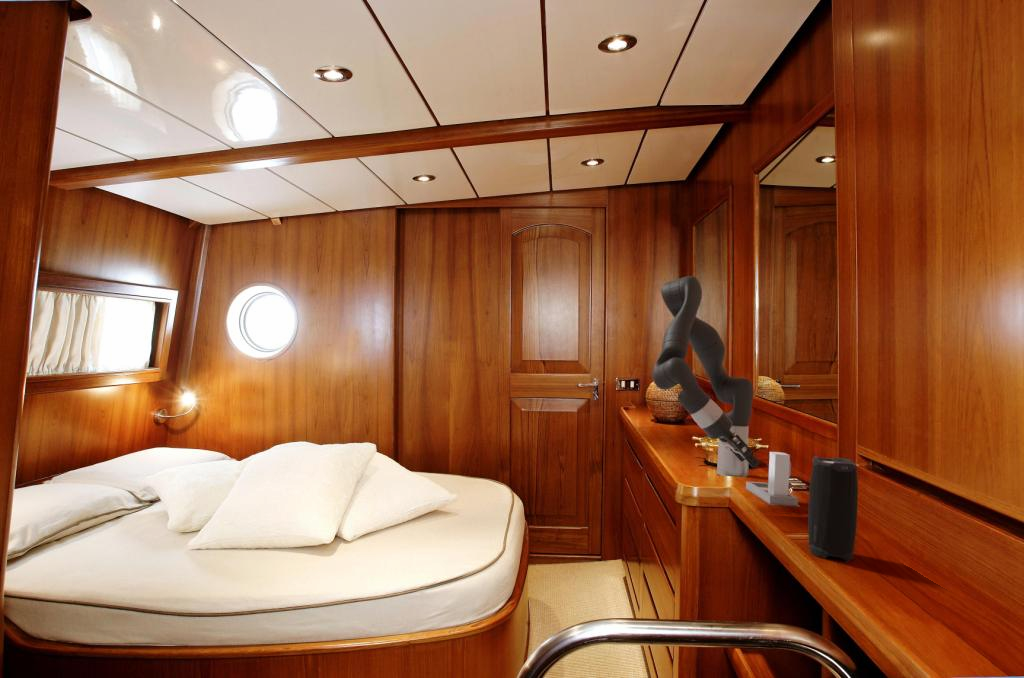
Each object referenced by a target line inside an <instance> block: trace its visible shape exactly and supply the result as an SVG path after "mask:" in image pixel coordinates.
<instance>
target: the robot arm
mask: <svg viewBox="0 0 1024 678" xmlns="http://www.w3.org/2000/svg"><path fill="white" fill-rule="evenodd" d="M702 290H703V289H702V286H701V283H700V282H699V279H698V278H697V277H695V276H693V275H688V276H684V277H679V278H676V279H673V280H671V281H668V282H665V283H664V284H662V285H661V288H660V294H661V298H662V300H663V303H664V304H665V306H666V308H667V309H668V310H669V312H670V313H671V315H672V316H673V317H674V318H673V319H672V321H671V322H670V323H669V324H668V326H667V328H666V329H665V332H664V335H663V340H662V346H661V350H660V353H659V354H658V357H657V358H656V361H655V363H654V366H653V367H652V368H653V369H652V373H651V374H652V380H653V383H654V385H655V386H656V387H657V388H659V389H661V390H663V391H664V390H670V389H673V388H674V387H676V386H677V385H679V386H680V388H681V389H682V390H681V391H680V393H678V395H677V400H678V402H679V404H680V405H681V406H682V407H683V408H684V409H685V410H686V411H687V413H688V414H689V415H690V416H691V418H692V419H693V421H694V422H695V423H696V424H697V426H699V428H701V430H703V432H704V433H705V434H706V435H707V436H708V438H710V440H718V445H717V462H716V463H717V466H716V474H717V475H718V474H719V475H718V476H722V477H723V476H724V477H734V478H735V477H738V478H747V476H748V477H749V465H750V466H751V468H753V469H756V468H757V467H758V466H759V465H760V464H761V462H760V461H759V459H757V457H756V456H755V455H754V454H753V449H752V448H750V446H749V430H750V429H749V427H750V419H751V416H752V407H753V401H754V400H753V399H754V388H753V387H754V386H753V384H752V381H751V380H750V379H748V378H745V377H736V376H729V374H727V371H725V367H724V366H723V362H724V359H725V355H726V347H725V344H724V342H723V339H722V338H721V336H720V334H719V332H718V331H717V329H715V327H713V326H712V325H710V324H709V323H707V322H705V320H702V319H700V318H698V317H697V313H698V310H699V308H700V305H701V301H702V298H703V297H702V296H703V291H702ZM689 344H690V345H691V348H692V350H693V352H694V354H695V355H696V357H697V358H698V359H699V362H700V363H701V366H702V367H703V369H704V372H706V375H707V377H708V379H709V380H708V381H709V382H710V384H711V385H710V386H712V389H713V391H714V394H715V396H716V398H717V399H718V401H720V402H721V403H723V404H729V405H732V409H731V411H729V412H727V413H725V412H724V411H723V410H722V409H721V407H720V406H719V405H718V404H717V403H716V402H715V401H713V399H711V397H710V396H709V395H708V394H707V393H706V392H705V391H704V390H703V389H702V387H700V385H699V382H698V380H697V378H696V376H695V375H694V373H693V371H692V369H691V366H690V365H689V363H687V361H685V359H686V357H687V353H688V347H689Z"/></svg>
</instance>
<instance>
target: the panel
mask: <svg viewBox="0 0 1024 678" xmlns="http://www.w3.org/2000/svg"><path fill="white" fill-rule="evenodd" d="M744 489H745V490H746V491H749V492H750V493H752V494H753V495H754V496H756V497H758V498H759V499H761V500H762V501H763V502H765V503H767V504H768V505H772V506H784V507H786V506H787V507H800V505H799V497H797V496H795V495H793V494H792V493H790V492H788V496H774V495H771V494H769V493H768V482H760V481H759V482H758V481H745V487H744Z"/></svg>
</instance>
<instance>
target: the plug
mask: <svg viewBox="0 0 1024 678" xmlns="http://www.w3.org/2000/svg"><path fill="white" fill-rule="evenodd" d="M790 458H791V454H787V453H785V452H780V451H769V463H768V482H767V483H768V493H769V494H771V495H774V496H788V493H789V486H790V485H789V482H790V478H791V470H792V469H791V468H792V462H791V461H790V460H791V459H790Z"/></svg>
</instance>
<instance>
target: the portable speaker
mask: <svg viewBox="0 0 1024 678" xmlns="http://www.w3.org/2000/svg"><path fill="white" fill-rule="evenodd" d="M811 463H813V464H812V466H811V474H810V480H809V481H810V482H809V490H808V491H809V493H808V494H809V495H808V513H807V517H808V518H807V522H808V524H807V526H808V528H807V529H808V533H807V534H808V547H809V551H810V553H811V554H812V555H813V556H816V557H818V558H821V559H827V558H828V557H835V558H841V559H842V561H843V560H845V561H844V562H846V561H849V560H851V561H852V559H853V558H854V549H855V543H856V542H855V541H856V536H857V535H856V534H857V525H858V524H857V523H858V501H859V483H858V482H859V481H858V467H857V464H856V463H855V461H853V460H851V459H848V458H844V457H843V458H842V457H834V458H831V457H830V458H825V457H820V456H816V455H815V456H813V457H812V461H811ZM853 560H854V559H853ZM849 562H850V561H849Z"/></svg>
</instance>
